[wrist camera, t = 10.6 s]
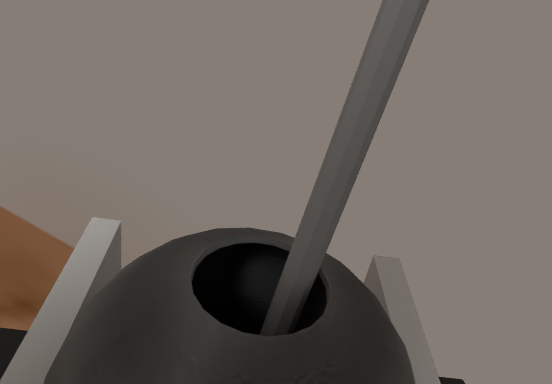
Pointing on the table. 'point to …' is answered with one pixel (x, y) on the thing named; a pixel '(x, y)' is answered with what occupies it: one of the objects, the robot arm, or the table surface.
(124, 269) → the beverage cup
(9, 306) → the table surface
